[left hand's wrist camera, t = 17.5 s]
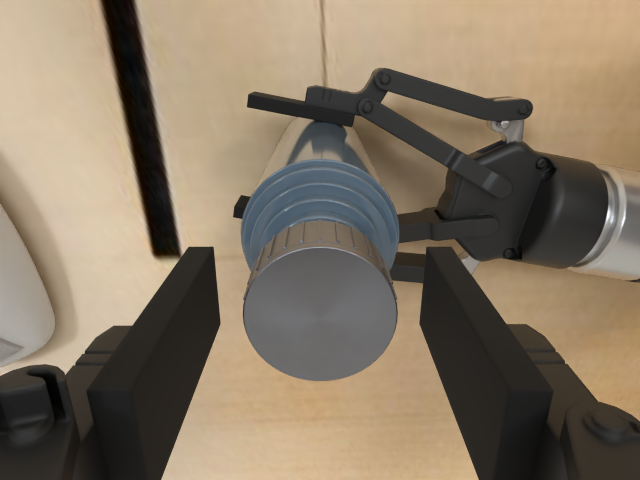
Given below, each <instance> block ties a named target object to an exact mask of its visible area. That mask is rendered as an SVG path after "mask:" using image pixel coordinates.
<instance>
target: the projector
mask: <svg viewBox="0 0 640 480" xmlns="http://www.w3.org/2000/svg"><path fill="white" fill-rule="evenodd" d="M54 329H55V316H54V312H53V309H52V306H51V303H50V300H49V297H48V295H47V292H46V290H45V287H44V285H43V282H42V280H41V278H40V276H39V273H38V271H37V269H36V267H35V265H34V263H33V261H32V259H31V256H30V254H29V252H28V250H27V248H26V246H25V245H24V243H23V241H22V239H21V237H20V236H19V234H18V232H17V230H16V228H15V227H14V225H13V223H12V222H11V220H10V218H9V217H8V215H7V213H6V212H5V210H4V209H3V207H2V205H1V204H0V367H3V366H6V365H8V364H11V363H13V362H16V361H18V360H20V359H22V358H24V357H26V356H28V355H30V354H32V353H34V352H35V351H37V350H39V349H40V348H41V347H43V346H44V345H45V344H46V343H47V342H48V340H49V339H50V338H51V336H52V334H53V332H54Z"/></svg>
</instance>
